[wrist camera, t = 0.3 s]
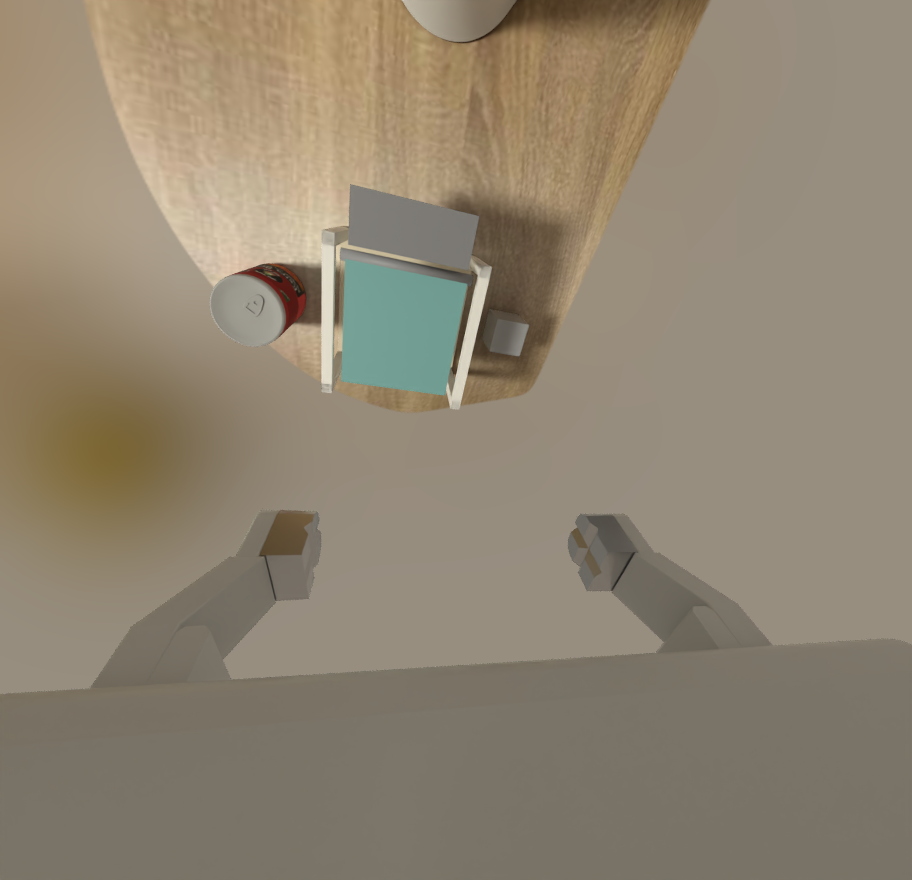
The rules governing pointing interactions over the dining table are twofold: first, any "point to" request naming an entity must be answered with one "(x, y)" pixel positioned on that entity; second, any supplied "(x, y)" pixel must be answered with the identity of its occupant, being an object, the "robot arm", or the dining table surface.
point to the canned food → (257, 304)
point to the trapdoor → (403, 291)
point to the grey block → (504, 332)
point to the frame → (329, 363)
